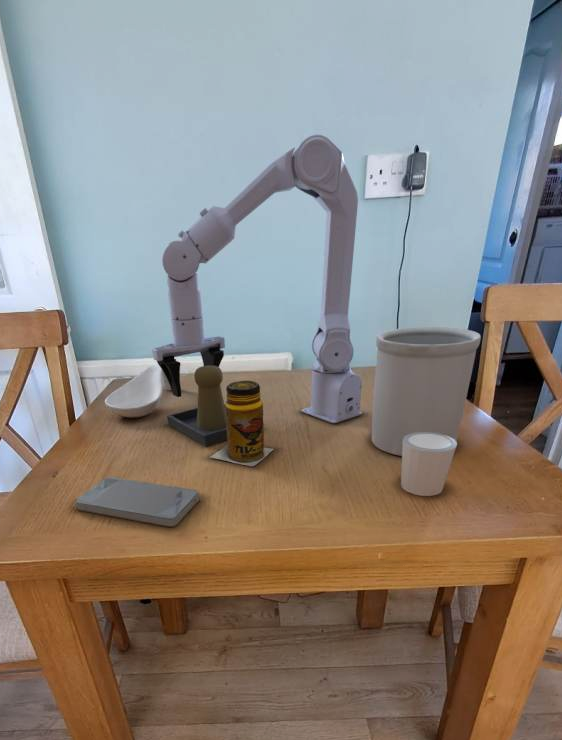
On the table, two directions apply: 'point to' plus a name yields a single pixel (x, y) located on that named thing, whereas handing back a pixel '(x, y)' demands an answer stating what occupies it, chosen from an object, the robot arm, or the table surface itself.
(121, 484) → the phone
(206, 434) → the slate tray
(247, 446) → the condiment
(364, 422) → the table surface
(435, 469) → the white cup
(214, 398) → the pepper mill
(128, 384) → the spoon rest
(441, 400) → the utensil holder
